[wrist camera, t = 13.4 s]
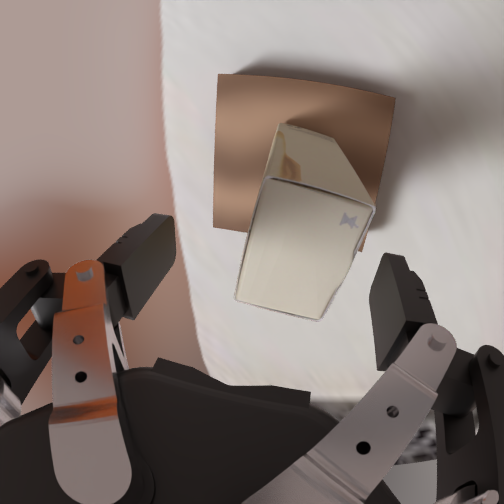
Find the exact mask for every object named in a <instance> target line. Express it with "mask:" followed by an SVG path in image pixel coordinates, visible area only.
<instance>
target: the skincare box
mask: <svg viewBox="0 0 504 504" xmlns="http://www.w3.org/2000/svg"><path fill="white" fill-rule="evenodd" d="M375 212H376V206H375V204H374V202H373V201H372V199H371V197H370V196H369V194H368V192H367V190H366V189H365V187H364V185H363V184H362V182H361V180H360V178H359V177H358V175H357V174H356V172H355V170H354V169H353V167H352V166H351V164H350V163H349V161H348V159H347V158H346V156H345V155H344V153H343V152H342V150H341V148H340V147H339V145H338V144H337V142H336V141H335V139H334V138H332V137H329V136H326V135H323V134H320V133H317V132H314V131H311V130H308V129H304V128H301V127H297V126H293V125H289V124H284V123H279V124H278V127H277V130H276V133H275V136H274V139H273V143H272V146H271V150H270V153H269V157H268V161H267V165H266V168H265V172H264V175H263V179H262V183H261V186H260V190H259V193H258V197H257V200H256V204H255V207H254V210H253V214H252V218H251V221H250V225H249V229H248V233H247V237H246V242H245V246H244V250H243V255H242V259H241V264H240V269H239V274H238V278H237V284H236V289H235V294H234V300H235V301H237V302H240V303H245V304H249V305H252V306H256V307H259V308H263V309H267V310H270V311H274V312H278V313H282V314H286V315H290V316H294V317H298V318H303V319H307V320H311V321H315V322H318V321H321V320H322V319H323V318H324V316H325V314H326V312H327V311H328V309H329V307H330V305H331V303H332V302H333V300H334V298H335V296H336V294H337V292H338V290H339V288H340V286H341V285H342V283H343V281H344V279H345V277H346V275H347V273H348V271H349V269H350V267H351V265H352V262H353V260H354V258H355V255H356V253H357V251H358V249H359V247H360V245H361V243H362V241H363V238H364V236H365V234H366V232H367V230H368V228H369V225H370V223H371V220H372V218H373V216H374V214H375Z"/></svg>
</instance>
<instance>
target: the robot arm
mask: <svg viewBox="0 0 504 504" xmlns="http://www.w3.org/2000/svg"><path fill="white" fill-rule="evenodd" d="M175 256H176V241H175V225H174V219H173V217H172V216H169V215H163V214H156V213H155V214H152V215H151V216H150V217H149V218H148V219H147V220H146V221H145V222H143V223H142V224H139V225H136V226H134V227H132V228H130V229H129V230H128V231H127V232H126V233H124V234H123V235H122V237H120V238H119V239H118V240H117V241H116V243H114V244H113V245H112V246H111V247H110V248H108V249H107V250H106V251H105V252H104V253H103V254H102V255H101V256H100V257H99V258H98V259H97V260H84V261H80V262H78V263H75V264H74V265H72V266H71V267H70V268H69V269H68V270H67V272H66V273H52V272H51V269H50V266H49V263H48V262H47V261H45V260H34V261H31V262H29V263H27V264H25V265H24V266H23V267H21V268H20V269H19V270H18V271H17V272H16V273H15V274H14V275H13V276H12V277H11V278H10V279H9V280H8V281H7V282H6V283H5V284H4V285H3V286H2V287H1V288H0V504H401V503H400V502H399V501H398V499H397V498H396V497H395V496H394V494H393V493H392V492H391V490H390V489H389V487H388V486H387V485H386V484H385V482H384V481H383V478H384V476H385V475H386V474H387V473H388V471H389V470H390V469H391V467H392V466H393V465H394V463H395V462H396V461H397V459H398V458H399V457H400V455H401V454H402V452H403V451H404V450H405V448H406V447H407V445H408V444H409V442H410V441H411V439H412V438H413V436H414V435H415V433H416V432H417V430H418V429H419V427H420V426H421V424H422V422H423V421H424V419H425V417H426V416H427V414H428V412H429V411H430V409H432V410H434V412H435V424H436V441H437V498H436V499H437V500H436V502H435V503H434V504H504V355H503V354H502V353H501V352H500V351H499V350H498V349H496V348H495V347H493V346H490V345H484V346H481V347H480V348H479V349H478V351H477V352H476V353H475V355H474V354H471V353H469V352H466V351H463V350H461V349H458V348H457V345H456V341H455V339H454V337H453V335H452V334H451V333H450V332H449V331H448V330H447V329H446V328H444V327H442V326H440V325H438V323H437V320H436V318H435V315H434V312H433V309H432V306H431V303H430V300H428V295H427V292H425V291H426V290H425V287H424V285H423V282H422V280H421V279H420V278H419V277H418V275H417V274H416V273H415V272H414V271H410V270H409V267H408V265H407V262H406V260H405V257H404V256H401V255H395V254H390V253H384V254H383V256H382V258H381V261H380V264H379V267H378V270H377V272H376V275H375V278H374V281H373V283H372V286H371V290H370V295H369V304H370V311H371V318H372V326H373V335H374V344H375V353H376V364H377V371H385V373H384V374H383V375H382V376H381V377H380V379H379V380H378V381H377V382H376V383H375V384H374V386H373V387H372V388H371V389H370V390H369V391H368V393H367V394H366V395H365V396H364V397H363V398H362V399H361V400H360V401H359V403H358V404H357V405H356V406H355V407H354V408H353V409H352V410H351V411H350V412H349V413H348V414H347V415H346V416H345V417H344V418H343V419H342V420H341V421H340V422H339V421H338V420H337V419H336V418H335V417H333V416H332V415H331V414H330V413H328V412H327V411H325V410H324V409H322V408H320V407H318V406H316V405H313V404H311V403H310V394H311V392H308V391H302V390H295V389H289V388H283V387H278V386H272V385H271V386H230V385H227V384H224V383H222V382H220V381H218V380H216V379H214V378H212V377H210V376H208V375H206V374H204V373H202V372H201V371H199V370H197V369H195V368H193V367H189V366H185V365H182V364H178V363H175V362H172V361H169V360H165V359H162V358H158V359H157V361H156V363H155V364H154V367H139V368H132V369H129V367H128V364H127V359H126V354H125V349H124V344H123V339H122V333H121V327H120V324H119V321H120V319H121V318H122V317H125V318H128V319H131V320H135V318H136V317H137V315H138V314H139V312H140V311H141V309H142V308H143V307H144V305H145V304H146V302H147V301H148V299H149V298H150V296H151V295H152V294H153V292H154V291H155V289H156V288H157V287H158V285H159V284H160V282H161V281H162V279H163V278H164V277H165V275H166V274H167V273H168V271H169V270H170V268H171V267H172V265H173V264H174V261H175ZM30 308H31V310H32V313H33V314H34V317H35V319H36V320H35V321H34V323H33V324H32V325H31V327H30V328H29V329H28V330H27V331H26V333H25V334H24V335H23V337H22V338H21V339H20V340H19V339H18V337H17V333H16V329H17V325H18V323H19V322H20V321H21V319H22V318H23V317H24V316H25V314H26V313H27V312H28V311H29V310H30ZM51 357H52V394H53V402H52V403H50V404H47V405H45V406H43V407H41V408H38V409H36V410H34V411H31V412H29V413H26V414H24V415H20V413H21V405H22V403H23V402H24V400H25V398H26V397H27V395H28V393H29V391H30V390H31V388H32V387H33V385H34V383H35V382H36V380H37V379H38V377H39V375H40V374H41V372H42V371H43V369H44V368H45V366H46V364H47V363H48V361H49V360H50V358H51ZM476 407H477V413H478V419H479V429H478V432H477V435H475V427H474V420H473V413H472V411H473V410H474V409H475V408H476Z"/></svg>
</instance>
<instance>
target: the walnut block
mask: <svg viewBox="0 0 504 504" xmlns="http://www.w3.org/2000/svg"><path fill="white" fill-rule="evenodd" d="M395 99H396V98H393V97H390V96H386V95H382V94H377V93H373V92H369V91H364V90H360V89H355V88H350V87H345V86H339V85H334V84H328V83H321V82H315V81H308V80H300V79H291V78H282V77H271V76H258V75H238V74H218V83H217V102H216V124H215V152H214V193H213V227H215V228H221V229H228V230H234V231H240V232H247V233H248V229H249V225H250V221H251V218H252V214H253V210H254V207H255V204H256V200H257V197H258V193H259V190H260V186H261V183H262V179H263V175H264V172H265V168H266V165H267V161H268V157H269V153H270V150H271V146H272V143H273V139H274V136H275V133H276V130H277V127H278V124H279V123H284V124H289V125H293V126H297V127H301V128H304V129H308V130H311V131H314V132H317V133H320V134H323V135H326V136H329V137H332V138H334V139H335V141H336V142H337V144H338V145H339V147H340V148H341V150H342V152H343V153H344V155H345V156H346V158H347V159H348V161H349V163H350V164H351V166H352V167H353V169H354V170H355V172H356V174H357V175H358V177H359V178H360V180H361V182H362V184H363V185H364V187H365V189H366V190H367V192H368V194H369V196H370V197H371V199H372V201H373V202H374V204H375V201H376V197H377V193H378V189H379V185H380V180H381V176H382V171H383V166H384V162H385V157H386V152H387V147H388V141H389V136H390V130H391V124H392V118H393V112H394V105H395ZM367 232H368V230H367ZM367 232H366V234H365V236H364V238H363V241H362V243H361V245H360V247H359V249H358V251H360V252H362V250H363V246H364V243H365V239H366V236H367Z"/></svg>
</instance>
